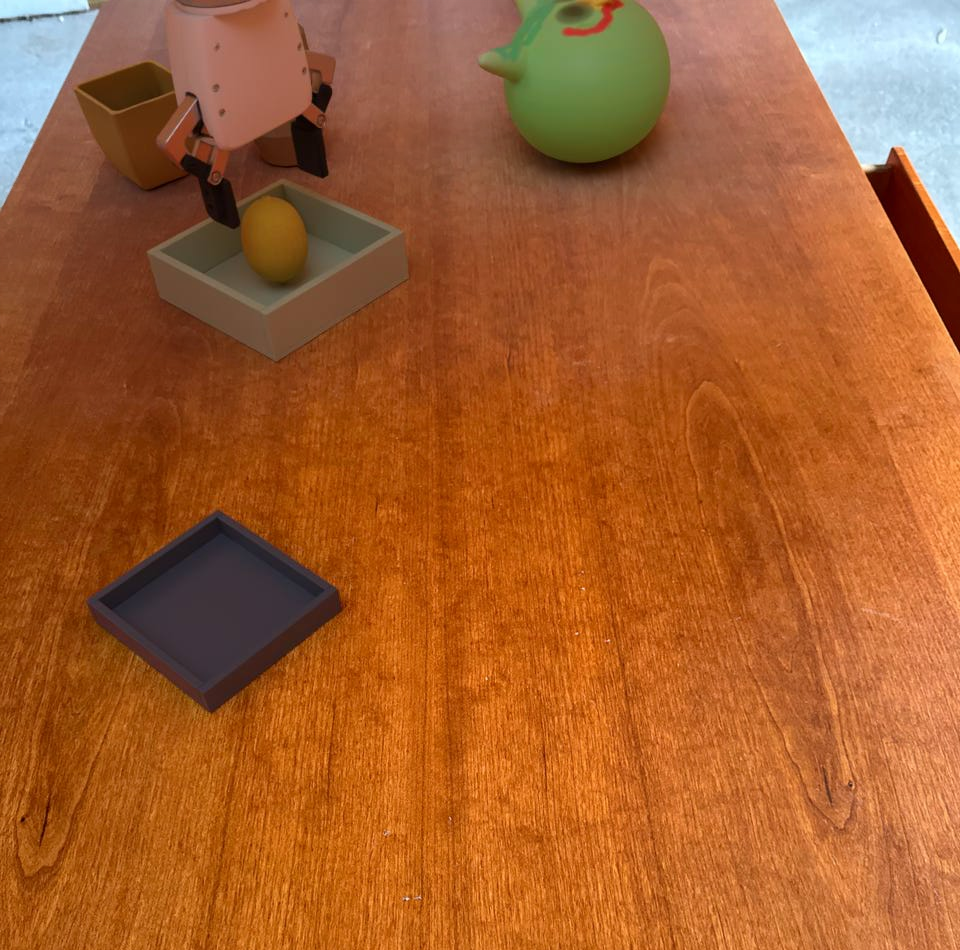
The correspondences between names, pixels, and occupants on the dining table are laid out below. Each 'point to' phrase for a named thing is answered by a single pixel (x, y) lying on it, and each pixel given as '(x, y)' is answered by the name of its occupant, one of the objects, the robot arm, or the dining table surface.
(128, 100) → the flower pot
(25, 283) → the dining table surface
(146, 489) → the dining table surface
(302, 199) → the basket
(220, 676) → the tray
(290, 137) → the squeeze bottle
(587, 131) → the toy bird
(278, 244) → the lemon
